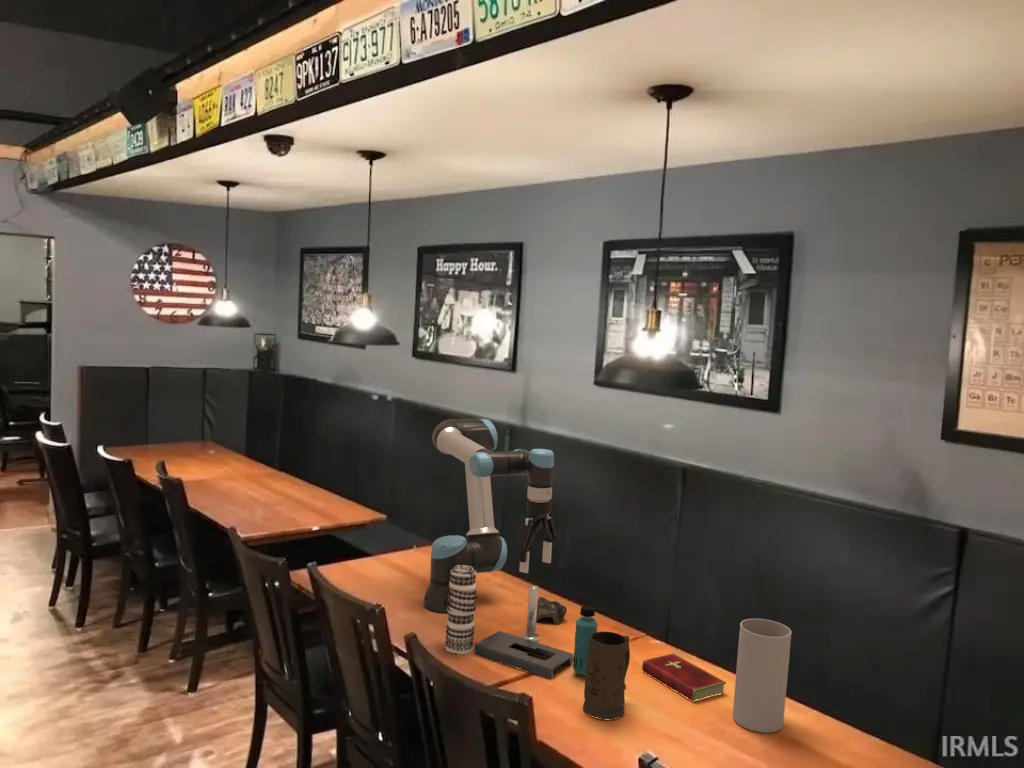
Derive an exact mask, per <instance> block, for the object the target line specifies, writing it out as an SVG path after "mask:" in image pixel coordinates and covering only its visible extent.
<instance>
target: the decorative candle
mask: <svg viewBox="0 0 1024 768" xmlns="http://www.w3.org/2000/svg"><path fill="white" fill-rule="evenodd" d="M450 573H451V576H450V583H449V584H448V585H447V586H448V589H447V591H448V596H447V598H448V600H447V603H448V607H447V611H448V612H449V613H447V614H448V616H447V622H446V626H445V628H446V631H445V634H446V635H445V636H444V637H445V638H444V639H445V641H444V643H445V646H444V649H445V648H446V649H445V650H446V651H447V652H448V651H449V652H448V653H450V652H452V653H451V654H453V653H457V654H456V655H467V654H470V653H471V652H473V650H474V647H473V646H475V643H474V640H475V637H474V634H475V631H474V630H475V628H476V627H475V623H474V622H475V621H474V618H475V617H474V614H475V612H476V609H477V606H476V605H477V602H476V601H475V600H477V598H478V595H477V594H478V593H479V591H478V590H477V589H476V587H477V582H476V579H477V578H476V575H477V574H478V573H477V572H476V571H475V570H474V569H473V567H471V566H469V565H457V566H455V567H454V568H453V569H452V570H451V571H450ZM449 590H450V591H449ZM449 601H450V602H449ZM469 652H470V653H469Z"/></svg>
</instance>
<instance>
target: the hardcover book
mask: <svg viewBox="0 0 1024 768" xmlns="http://www.w3.org/2000/svg"><path fill="white" fill-rule="evenodd" d="M642 670H643V671H644V672H646V673H647V674H649V675H651V676H652V677H654V678H656V679H657V680H659V681H661V682H662V683H664V684H666V685H667V686H669V687H671V688H672V689H674V690H676V691H678V692H679V693H681V694H683V695H684V696H686V697H688V698H689V699H691V700H692V701H694V700H696V699H701V698H704V697H707V696H711V695H715V694H719V693H723V694H724V685H725V684H727V682H726V681H725V680H723V679H721V678H719V677H718V676H716V675H713V674H712V673H710V672H709V671H707V670H705V669H703V668H701V667H699V666H697V665H695V664H694V663H692V662H690V661H688V660H687V659H685V658H683V657H682V656H679V655H678V654H676V653H668V654H664V655H661V656H660V655H659V656H656V657H655V656H654V657H650V658H647V659H643V661H642V664H641V671H642ZM647 674H646V675H647ZM652 677H651V678H652ZM657 680H656V681H657ZM662 683H661V684H662Z"/></svg>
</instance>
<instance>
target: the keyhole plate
mask: <svg viewBox="0 0 1024 768" xmlns="http://www.w3.org/2000/svg"><path fill="white" fill-rule="evenodd" d="M512 647H513V648H512ZM515 648H516V649H515ZM518 649H519V650H518ZM521 650H522V651H521ZM525 651H526V652H525ZM528 652H529V653H528ZM531 653H532V654H531ZM473 654H474V655H475V654H476V656H479V657H482V658H485V659H488V660H490V659H491V660H490V661H493V662H496V661H498V662H497V663H499V662H502V663H505V664H508V665H511V666H514V667H518V668H521V669H523V670H526V671H528V672H527V673H529V674H533V675H535V676H538V677H541V678H544V677H545V679H547V678H548V680H552V679H553V678H554V670H555V669H557V668H558V667H560V666H561V665H567V666H569V667H571V666H573V663H574V662H573V657H574V655H573V654H574V652H573V653H571V652H568V651H566V650H563V649H559V648H557V647H553V646H550V645H547V644H543V643H539V642H534V641H530V640H527V639H524V638H522V637H519V636H517V635H513V634H510V633H507V632H504V631H500V630H499V631H497V632H496V631H495V632H494V633H492V634H490V635H489V636H487V637H485V638H482V640H479V641H477V642H476V643H474V653H473ZM529 654H531V655H534V654H535V656H537V655H538V656H537V657H540V656H541V657H540V658H543V657H545V658H544V659H546V660H543V659H540V658H537V657H534V656H530V655H529ZM547 658H548V659H547ZM502 663H501V664H502ZM505 664H504V665H505ZM508 665H507V666H508ZM511 666H510V667H511ZM514 667H513V668H514ZM523 670H522V671H523ZM526 671H525V672H526ZM551 678H552V679H551Z"/></svg>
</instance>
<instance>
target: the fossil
mask: <svg viewBox="0 0 1024 768" xmlns="http://www.w3.org/2000/svg"><path fill="white" fill-rule="evenodd" d="M567 610H568V608H567V607H566V606H565V605H563V604H561V602H559V601H558V600H551V599H547V598H546V597H545V596H541V595H540V596H538V602H537V618H536V622H538V621H539V620H541V619H543V618H544V619H546V618H552V621H553V624H556V626H558V625H560V623H561V622H562V620H564V618H565V615H566V614H567Z"/></svg>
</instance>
